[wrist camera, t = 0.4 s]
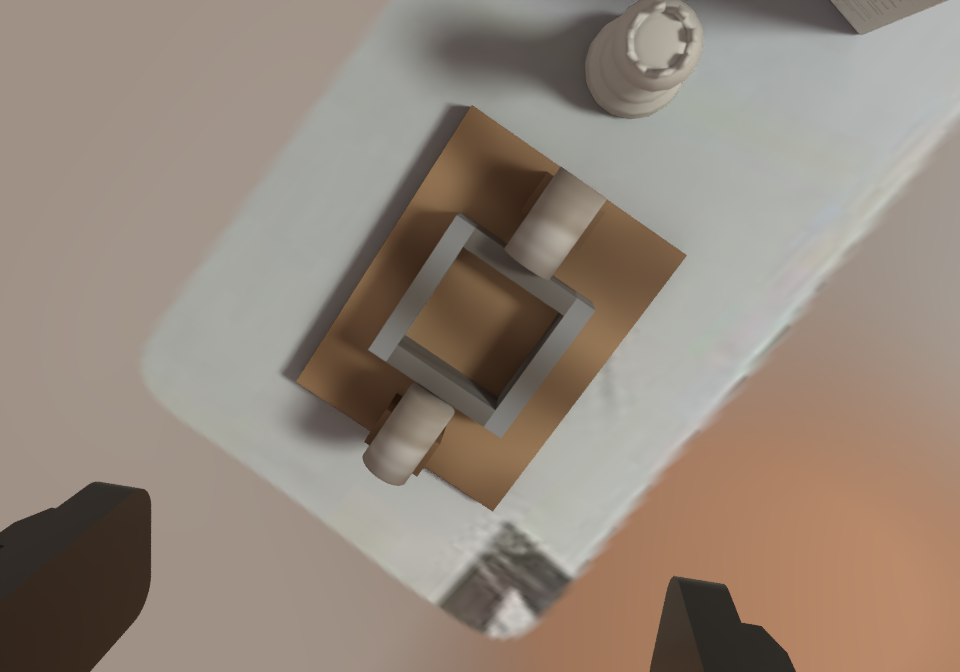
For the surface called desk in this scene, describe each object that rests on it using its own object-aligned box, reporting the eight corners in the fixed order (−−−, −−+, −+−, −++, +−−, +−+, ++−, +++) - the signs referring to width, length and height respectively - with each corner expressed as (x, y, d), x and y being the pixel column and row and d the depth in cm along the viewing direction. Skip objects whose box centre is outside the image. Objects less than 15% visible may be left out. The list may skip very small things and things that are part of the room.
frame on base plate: (473, 106, 34) (463, 97, 29) (683, 252, 35) (704, 266, 30) (302, 376, 38) (268, 406, 33) (494, 502, 39) (487, 549, 34)
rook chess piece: (563, 64, 33) (569, 34, 26) (641, -8, 32) (673, -61, 25) (625, 140, 34) (650, 134, 26) (704, 72, 33) (754, 44, 25)
